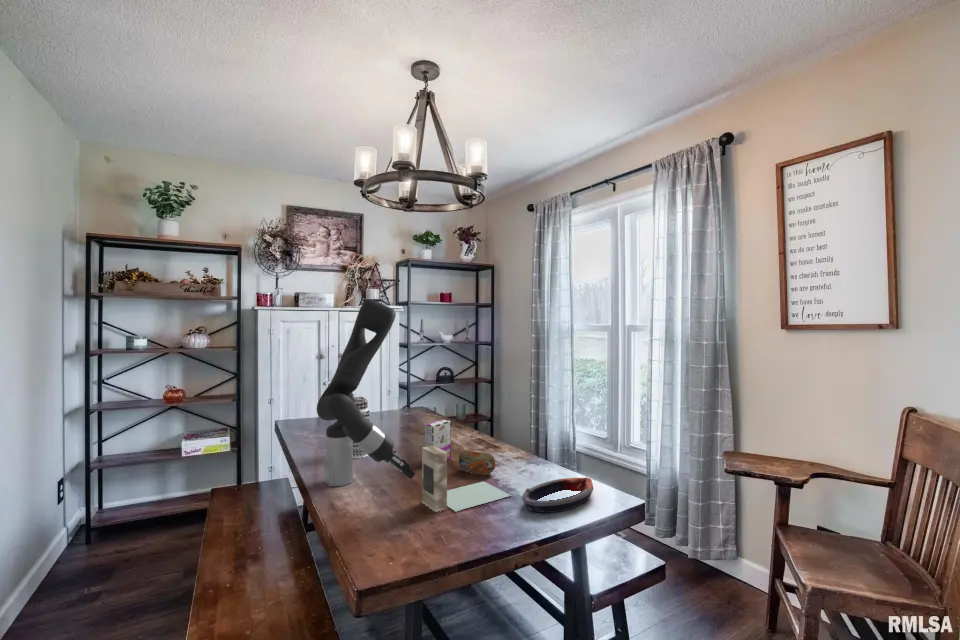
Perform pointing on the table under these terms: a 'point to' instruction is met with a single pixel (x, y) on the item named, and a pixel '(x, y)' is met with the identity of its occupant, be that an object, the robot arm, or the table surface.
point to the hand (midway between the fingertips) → (412, 475)
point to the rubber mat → (473, 495)
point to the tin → (477, 462)
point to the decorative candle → (363, 408)
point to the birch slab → (434, 478)
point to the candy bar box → (439, 436)
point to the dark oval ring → (555, 486)
